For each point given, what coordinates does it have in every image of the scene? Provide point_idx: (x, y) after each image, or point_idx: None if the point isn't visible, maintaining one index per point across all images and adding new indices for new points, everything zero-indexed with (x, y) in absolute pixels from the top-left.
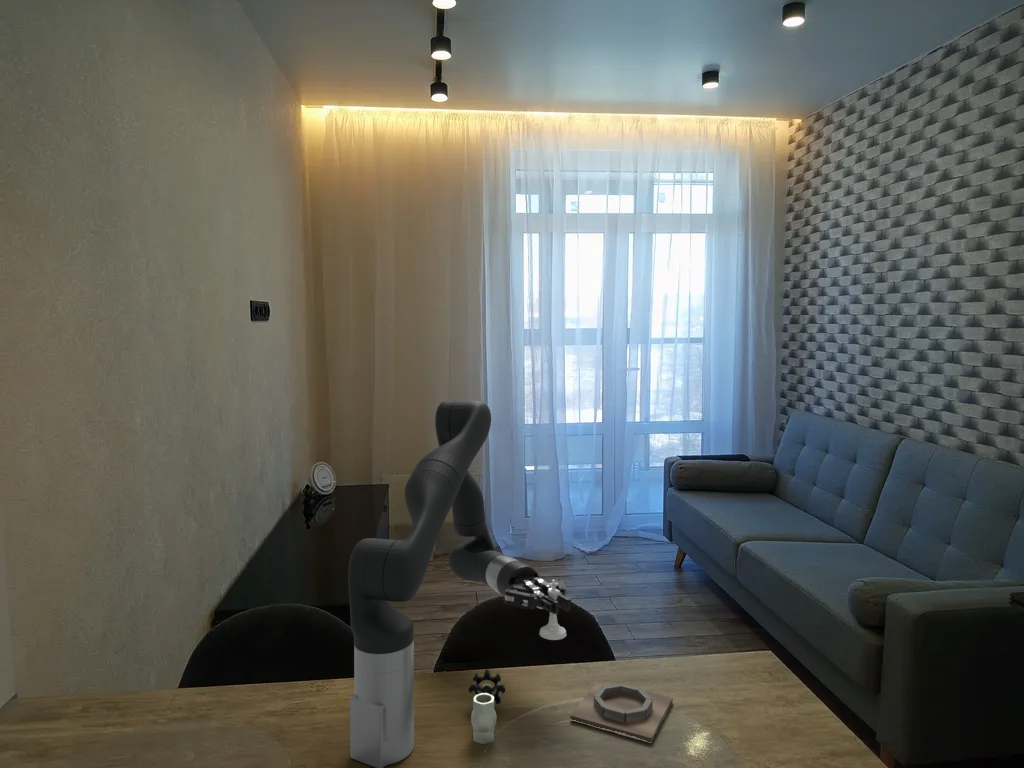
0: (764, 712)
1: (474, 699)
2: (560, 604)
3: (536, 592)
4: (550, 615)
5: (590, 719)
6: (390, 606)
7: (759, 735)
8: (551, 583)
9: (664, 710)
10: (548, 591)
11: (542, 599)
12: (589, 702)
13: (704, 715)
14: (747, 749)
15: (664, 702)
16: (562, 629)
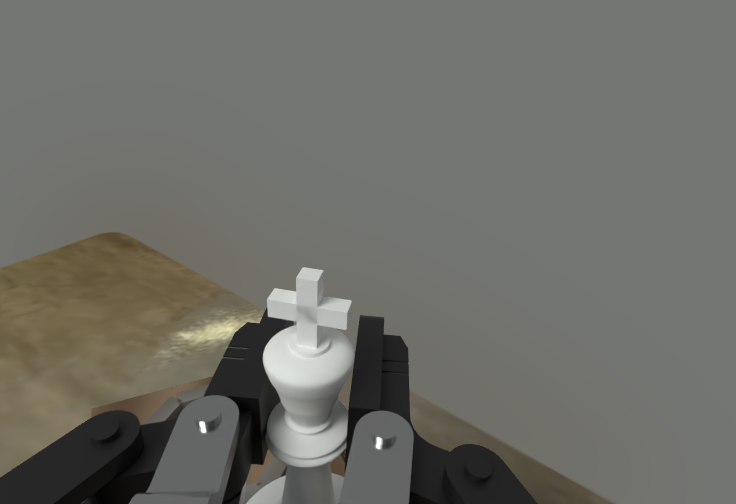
0: (38, 312)
1: None
2: (278, 394)
3: (388, 496)
4: (331, 480)
5: (338, 463)
6: None
7: (134, 294)
8: (320, 308)
9: (170, 389)
10: (352, 358)
11: (400, 414)
12: None
13: (115, 360)
14: (190, 291)
15: (131, 407)
16: (274, 493)
